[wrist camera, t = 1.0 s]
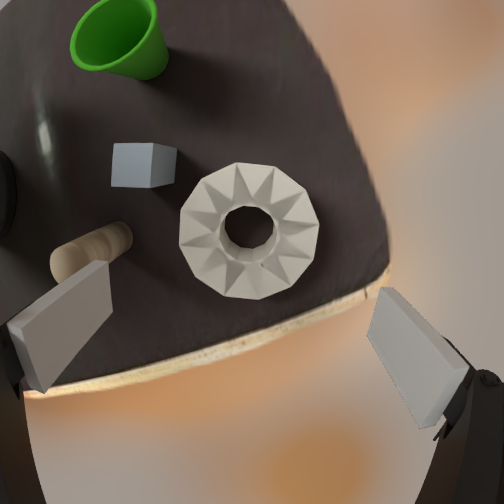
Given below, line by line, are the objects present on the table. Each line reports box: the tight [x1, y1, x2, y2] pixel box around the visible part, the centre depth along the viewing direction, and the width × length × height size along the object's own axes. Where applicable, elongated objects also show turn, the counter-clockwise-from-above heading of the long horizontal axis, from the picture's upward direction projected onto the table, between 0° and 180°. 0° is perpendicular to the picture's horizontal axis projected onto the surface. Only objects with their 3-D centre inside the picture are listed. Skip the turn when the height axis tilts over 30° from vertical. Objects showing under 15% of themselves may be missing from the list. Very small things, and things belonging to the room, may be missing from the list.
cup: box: [70, 0, 169, 80], centre depth 22 cm, size 9×9×11 cm
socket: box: [179, 163, 319, 300], centre depth 30 cm, size 14×14×5 cm
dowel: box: [50, 221, 133, 284], centre depth 28 cm, size 4×4×12 cm
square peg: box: [111, 143, 177, 188], centre depth 27 cm, size 4×4×8 cm
